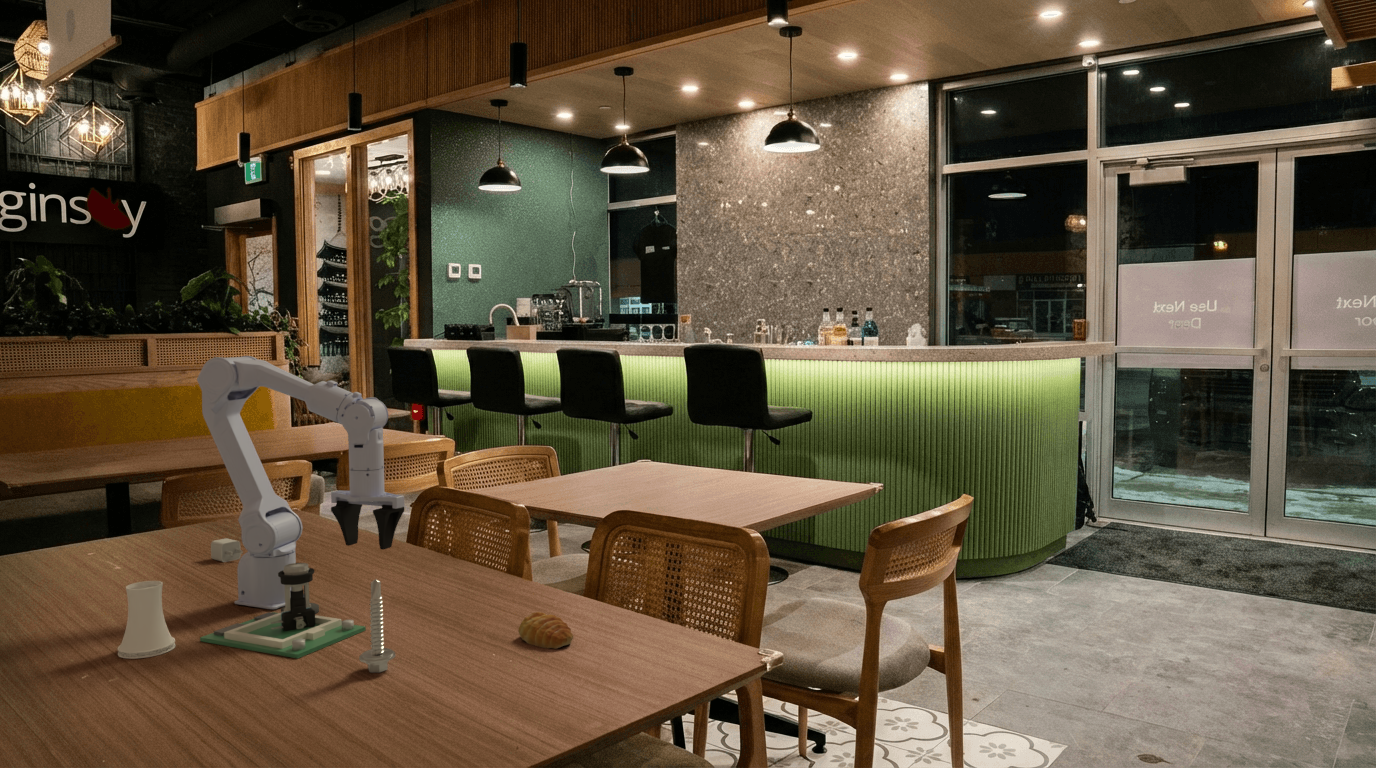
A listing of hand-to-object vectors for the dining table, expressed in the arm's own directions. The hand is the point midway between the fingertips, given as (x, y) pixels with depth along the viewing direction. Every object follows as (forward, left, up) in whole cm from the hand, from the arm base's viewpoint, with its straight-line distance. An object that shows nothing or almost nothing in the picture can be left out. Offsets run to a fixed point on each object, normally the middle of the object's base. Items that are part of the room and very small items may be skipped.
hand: (368, 546), depth 163 cm
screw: (+23, -24, -11) cm, 35 cm away
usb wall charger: (-50, +14, -11) cm, 53 cm away
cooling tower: (-15, -31, -11) cm, 36 cm away
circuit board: (-1, -18, -10) cm, 21 cm away
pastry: (+38, -4, -11) cm, 40 cm away
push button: (-1, -16, -10) cm, 19 cm away
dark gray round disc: (-8, -8, -11) cm, 16 cm away
